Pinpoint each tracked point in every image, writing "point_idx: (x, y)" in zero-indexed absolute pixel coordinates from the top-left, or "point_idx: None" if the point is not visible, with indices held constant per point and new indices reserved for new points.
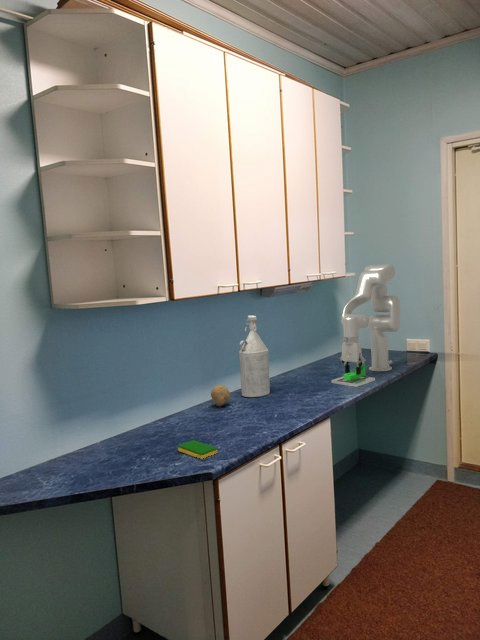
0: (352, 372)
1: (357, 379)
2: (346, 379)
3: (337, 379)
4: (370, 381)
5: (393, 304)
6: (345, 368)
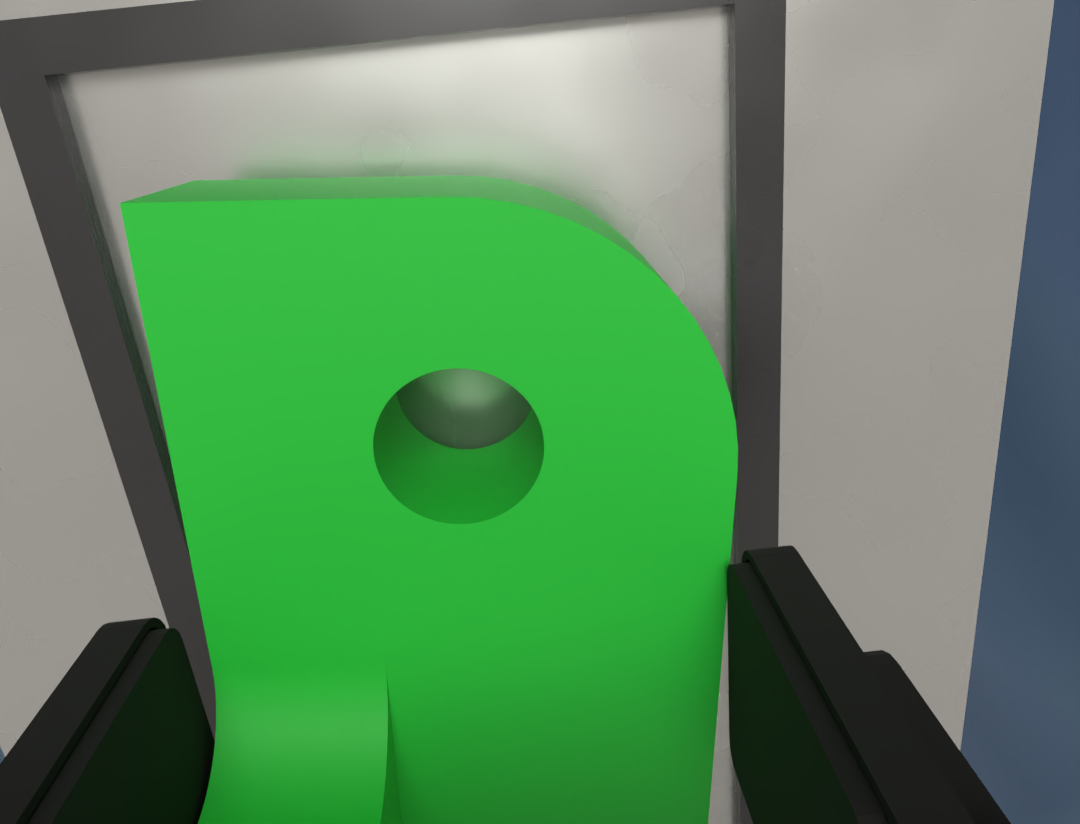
0: (624, 790)
1: None
2: None
3: (904, 148)
4: None
5: None
6: (854, 699)
